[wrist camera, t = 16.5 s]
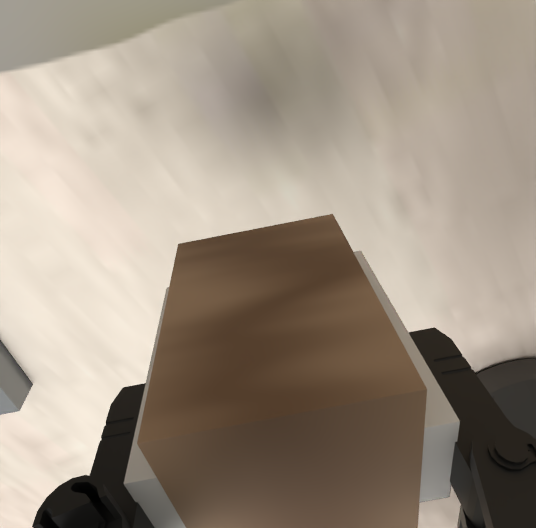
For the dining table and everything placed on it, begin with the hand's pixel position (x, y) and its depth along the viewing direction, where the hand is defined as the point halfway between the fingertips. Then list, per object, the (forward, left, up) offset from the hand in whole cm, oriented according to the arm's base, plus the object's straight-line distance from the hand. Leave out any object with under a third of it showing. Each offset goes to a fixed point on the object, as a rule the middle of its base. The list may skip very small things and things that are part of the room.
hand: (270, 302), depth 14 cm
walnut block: (0, 0, 0) cm, 0 cm away
